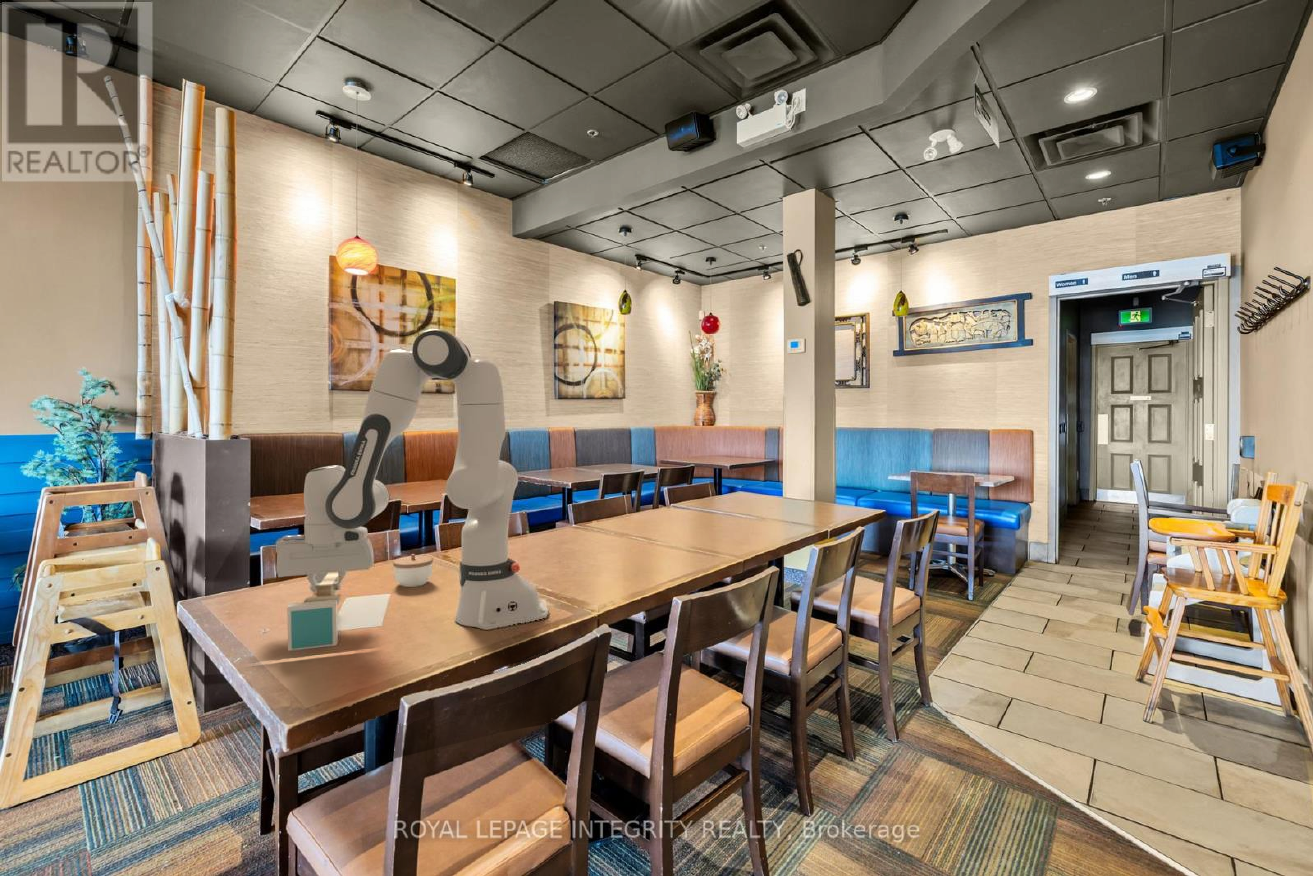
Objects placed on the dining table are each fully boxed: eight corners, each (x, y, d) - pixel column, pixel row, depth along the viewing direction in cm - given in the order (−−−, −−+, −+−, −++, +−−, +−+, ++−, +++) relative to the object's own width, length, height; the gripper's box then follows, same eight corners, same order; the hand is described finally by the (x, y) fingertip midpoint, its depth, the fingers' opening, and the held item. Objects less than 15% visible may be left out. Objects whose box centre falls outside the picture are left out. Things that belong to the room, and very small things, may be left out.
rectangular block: (338, 644, 126) (337, 599, 126) (336, 648, 124) (335, 602, 124) (290, 650, 123) (289, 603, 123) (288, 654, 121) (287, 607, 121)
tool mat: (390, 595, 160) (390, 593, 160) (381, 628, 136) (381, 626, 136) (346, 599, 156) (346, 597, 156) (328, 634, 132) (328, 631, 132)
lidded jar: (429, 578, 177) (429, 548, 176) (436, 587, 168) (436, 555, 167) (391, 584, 171) (390, 552, 171) (396, 593, 162) (395, 560, 162)
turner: (319, 584, 147) (319, 573, 146) (350, 582, 149) (349, 570, 149) (298, 613, 126) (298, 599, 126) (335, 609, 128) (334, 596, 128)
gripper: (271, 539, 131) (273, 599, 132) (371, 533, 138) (372, 590, 139) (279, 533, 137) (280, 591, 138) (374, 528, 144) (375, 582, 145)
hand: (327, 590), depth 138 cm, fingers closed on turner, 3 cm apart
